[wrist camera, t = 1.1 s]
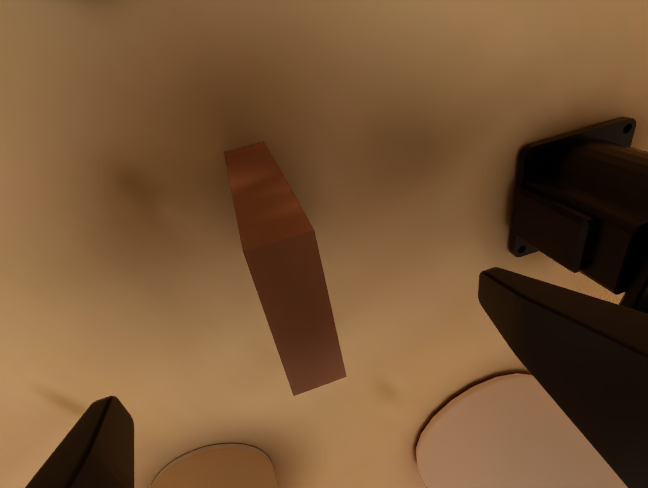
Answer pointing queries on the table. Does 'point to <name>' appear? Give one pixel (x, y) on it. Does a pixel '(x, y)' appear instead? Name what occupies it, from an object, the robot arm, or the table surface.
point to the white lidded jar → (508, 442)
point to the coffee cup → (219, 469)
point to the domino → (285, 269)
